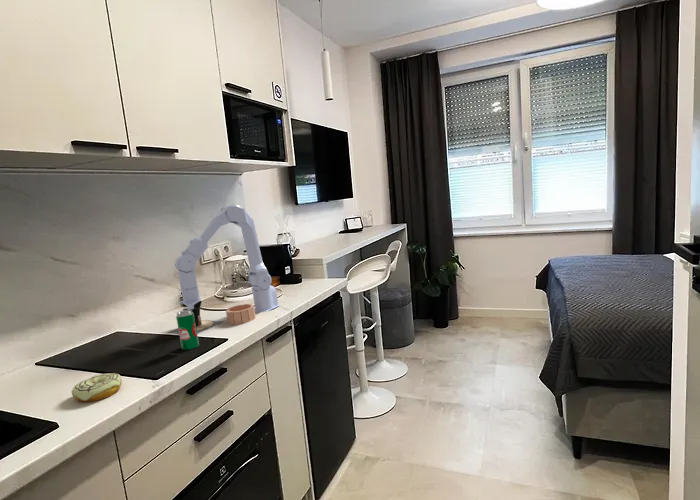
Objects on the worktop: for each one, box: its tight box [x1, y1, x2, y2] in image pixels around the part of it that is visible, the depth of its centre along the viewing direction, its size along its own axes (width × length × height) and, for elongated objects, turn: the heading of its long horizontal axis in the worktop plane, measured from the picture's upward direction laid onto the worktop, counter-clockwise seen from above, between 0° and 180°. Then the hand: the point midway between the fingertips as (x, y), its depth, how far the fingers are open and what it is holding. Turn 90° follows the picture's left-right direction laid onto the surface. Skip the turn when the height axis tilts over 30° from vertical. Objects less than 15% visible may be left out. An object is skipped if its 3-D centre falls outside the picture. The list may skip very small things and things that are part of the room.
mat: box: [167, 319, 225, 335], centre depth 147 cm, size 14×14×1 cm
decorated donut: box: [71, 372, 123, 403], centre depth 100 cm, size 10×11×4 cm
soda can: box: [175, 309, 200, 351], centre depth 125 cm, size 5×5×12 cm
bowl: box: [225, 303, 257, 325], centre depth 149 cm, size 10×10×5 cm
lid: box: [196, 315, 214, 331], centre depth 147 cm, size 12×12×4 cm
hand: (195, 324), depth 147 cm, fingers open, 7 cm apart
